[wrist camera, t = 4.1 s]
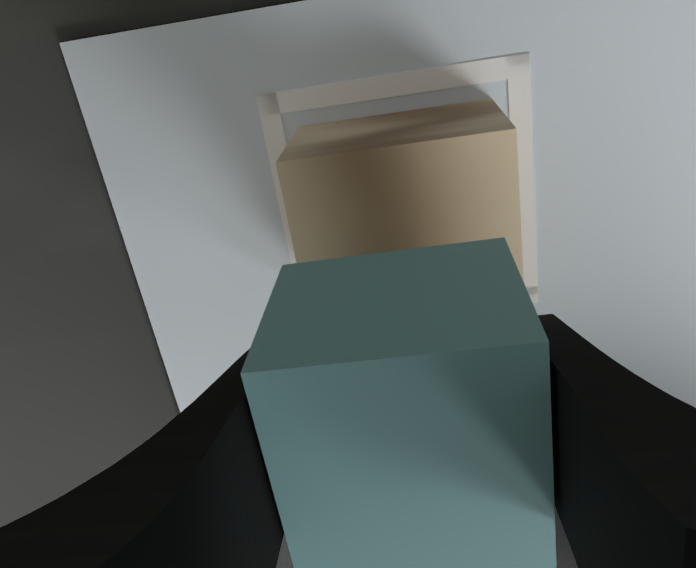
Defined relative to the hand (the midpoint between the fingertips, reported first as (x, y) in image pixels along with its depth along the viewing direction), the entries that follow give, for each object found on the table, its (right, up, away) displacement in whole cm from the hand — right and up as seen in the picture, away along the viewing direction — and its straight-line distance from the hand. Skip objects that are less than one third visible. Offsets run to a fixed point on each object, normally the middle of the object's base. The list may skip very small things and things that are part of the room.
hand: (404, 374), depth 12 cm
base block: (+1, +4, +7) cm, 8 cm away
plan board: (+1, +3, +8) cm, 9 cm away
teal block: (0, 0, +1) cm, 2 cm away
